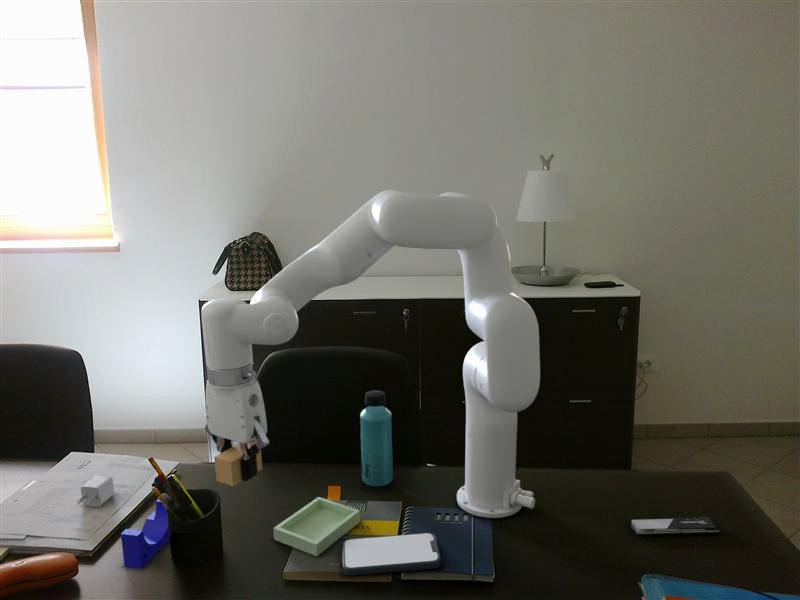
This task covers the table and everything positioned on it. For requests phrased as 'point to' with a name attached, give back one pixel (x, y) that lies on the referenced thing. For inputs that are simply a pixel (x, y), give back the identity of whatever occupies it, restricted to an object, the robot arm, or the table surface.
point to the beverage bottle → (376, 440)
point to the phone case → (390, 554)
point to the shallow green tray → (317, 526)
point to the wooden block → (232, 465)
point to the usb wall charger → (97, 491)
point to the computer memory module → (674, 526)
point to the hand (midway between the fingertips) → (239, 473)
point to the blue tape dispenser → (145, 538)
